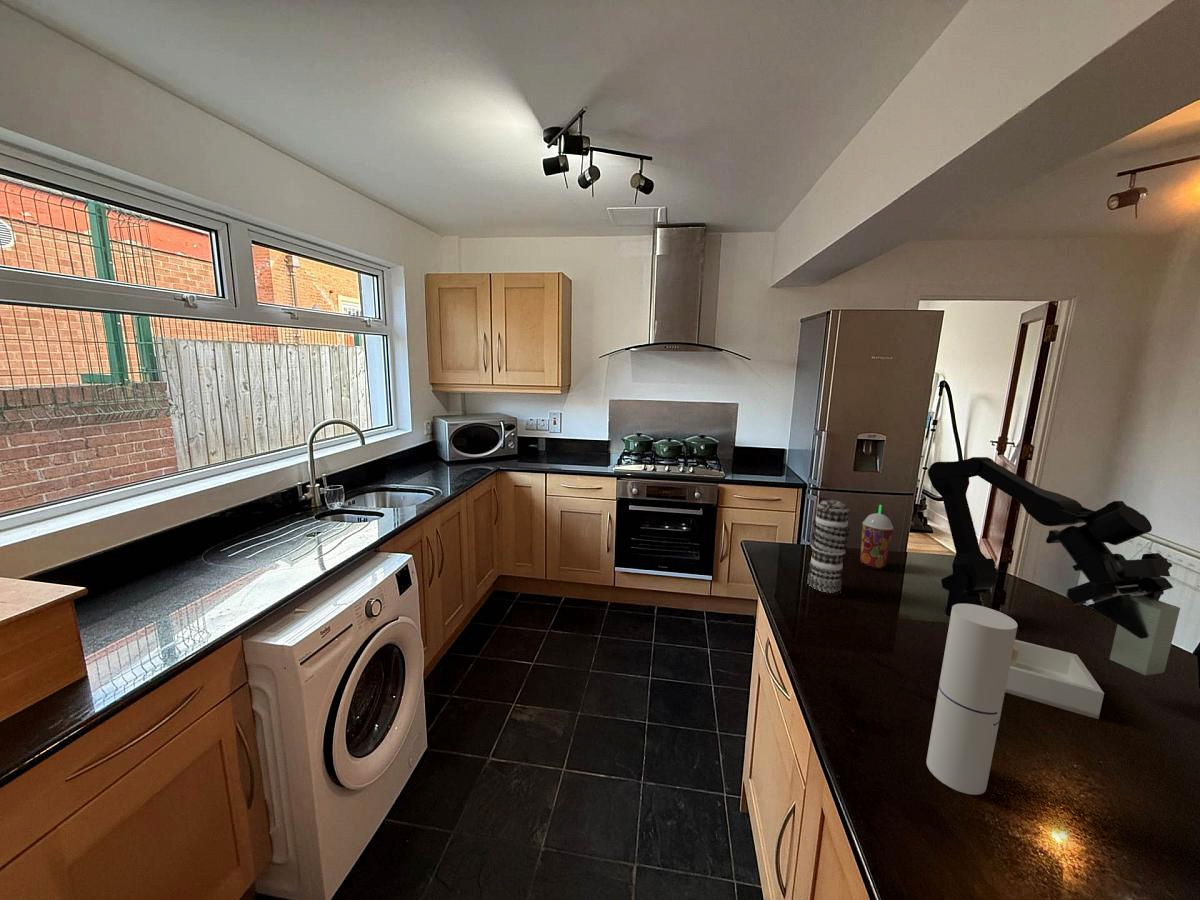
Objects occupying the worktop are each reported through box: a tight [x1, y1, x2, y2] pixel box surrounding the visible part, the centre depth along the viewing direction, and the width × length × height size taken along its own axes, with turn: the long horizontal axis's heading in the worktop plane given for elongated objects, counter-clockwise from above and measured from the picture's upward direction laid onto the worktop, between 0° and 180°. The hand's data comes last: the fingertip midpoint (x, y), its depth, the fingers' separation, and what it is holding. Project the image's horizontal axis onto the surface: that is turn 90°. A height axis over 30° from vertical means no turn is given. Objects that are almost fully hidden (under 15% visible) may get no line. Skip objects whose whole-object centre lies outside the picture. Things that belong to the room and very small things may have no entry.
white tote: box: [1005, 639, 1105, 720], centre depth 93 cm, size 18×14×5 cm
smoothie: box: [859, 504, 894, 568], centre depth 147 cm, size 8×8×20 cm
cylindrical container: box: [926, 604, 1018, 796], centre depth 68 cm, size 7×7×25 cm
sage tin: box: [1109, 595, 1181, 677], centre depth 86 cm, size 5×5×12 cm
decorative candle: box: [806, 499, 851, 593], centre depth 128 cm, size 9×9×25 cm
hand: (1154, 636), depth 85 cm, fingers closed on sage tin, 5 cm apart
